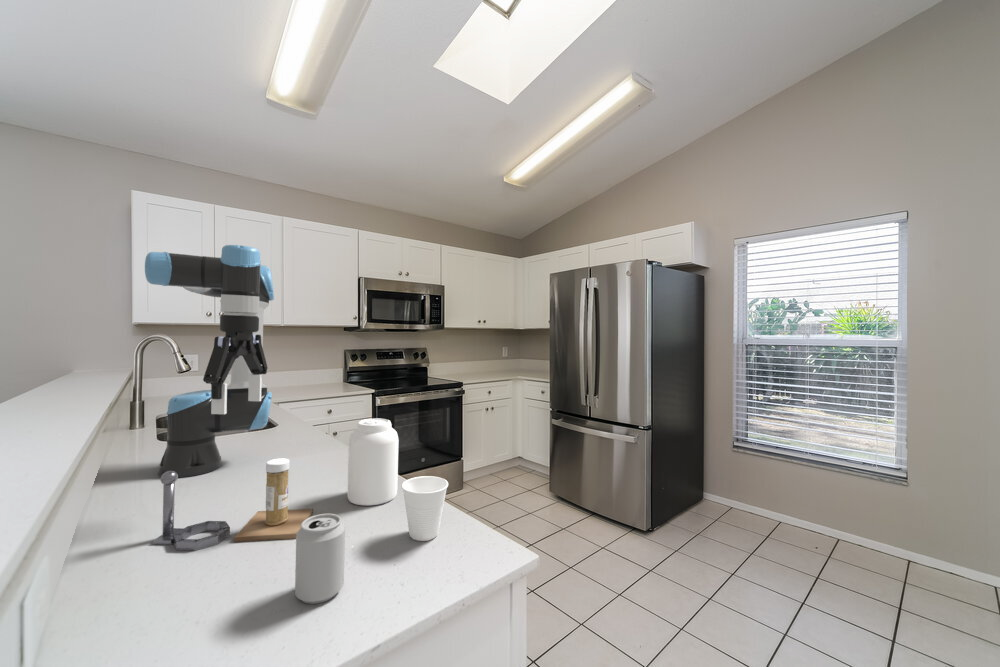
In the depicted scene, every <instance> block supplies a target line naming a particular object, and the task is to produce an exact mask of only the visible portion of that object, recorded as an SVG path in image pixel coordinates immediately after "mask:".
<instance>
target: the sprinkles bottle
mask: <svg viewBox="0 0 1000 667" xmlns="http://www.w3.org/2000/svg"><path fill="white" fill-rule="evenodd" d="M289 470H290V459H288V458H282V457H281V458H274V459H270V460H268V461H266V463H265V472H266V485H265V511H266V520H265V523H266V524H267V525H270V526H274V525H280V524H282V523H284V522H286V521H287V520H288V510H289V506H288V505H289Z"/></svg>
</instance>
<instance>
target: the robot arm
mask: <svg viewBox="0 0 1000 667" xmlns="http://www.w3.org/2000/svg"><path fill="white" fill-rule="evenodd" d="M220 255H221V256H220V257H215V256H205V255H203V256H202V255H194V254H193V255H191V254H182V253H173V252H172V253H171V252H167V251H163V252H161V251H160V252H159V251H151V252H148V253H147V254H146V256H145V259H144V274H145V275H144V276H145V279H146V281H147V282H148V283H149V284H150V285H157V286H162V287H180V288H183V289H184V290H187V291H188V292H189V293H195V294H198V295H203V296H207V297H213V298H220V300H219V302H220V312H221V313H223V314H221V315H220V316H219V330H220V332H223V333H224V332H225V335H224V336H215V337H214V342H213V349H212V352H211V355H210V357H209V361H208V363H207V365H206V368H205V372H204V375H203V379H202V381H203V382H204V383H205V384H207V385H208V384H210V385H211V387H210V388H211V389H203V390H196V391H190V392H185V393H181V394H177V395H174V396H173V397H171V398H170V399H169V401H168V403H167V412H166V415H167V420H166V421H167V422H166V424H167V429H166V430H167V431H166V433H167V434H166V448H165V450H164V453H163V455H162V456H161V460H160V463H159V464H158V475H159V476H160V477H161V476H162V475H163V474H164V473H165V472H167V471H175V472H176V473H177V474H178V478H187V477H194V476H199V475H203V474H208V473H209V472H213V471H214V470H217V469H219V468H221V466H222V455H221V454H220V451H219V448H218V446H217V443H216V434H217V433H229V432H240V431H241V432H242V431H252V430H260V429H263V428H265V427H266V426H267V424H268V420H269V416H270V409H271V404H272V397H273V393H272V392H271V391H268V386H267V385H266V384H265V383H263V375H267V373H268V372H267V371H268V364H267V360H266V357H265V352H264V349H263V348H264V310H266V308H268V307H269V306H270V302H271V301H273V300H274V299H275V293H274V286H273V285H274V284H273V277H272V272H271V269H270V267H269V266H267V265H262V264H261V263H262V260H261V252H260V250H259V249H258V248H255V247H253V246H247V245H239V244H225V245H224V246H222V247H221V254H220ZM229 373H230V383H229V384H228V383H226V382H225V381H226V379H227V377H228V375H229Z"/></svg>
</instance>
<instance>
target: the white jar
mask: <svg viewBox="0 0 1000 667" xmlns="http://www.w3.org/2000/svg"><path fill="white" fill-rule="evenodd" d="M392 425H393V424H392V422H391V420H389V419H386V418H381V417H380V418H377V417H375V418H374V417H373V418H365V419H362V420H360V421H358V422H357V425H356V429H355V430H353V432H351V433H350V437H349V438H348V458H347V459H348V462H347V469H348V470H347V499H348V501H349V503H352V504H354V505H358V506H367V507H368V506H378V505H382V504H386V503H388V502H390V501H392V500H393V499H394V498H396V497H397V494H398V478H399V476H398V475H399V442H400V441H399V439H400V438H399V435H398V432H397V431H396V429H395V428H393V427H392Z"/></svg>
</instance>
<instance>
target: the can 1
mask: <svg viewBox="0 0 1000 667" xmlns="http://www.w3.org/2000/svg"><path fill="white" fill-rule="evenodd" d="M342 521H343V520H342V517H341V516H339V515H338V514H335V513H321V514H315V515H311V517H309V518H307V519H306V520H304V521H303V522H302V524H301V528H300V529H299V531H298V532H297V534H296V538H295V569H294V573H295V577H294V579H295V580H294V581H295V582H294V593H295V596H296V598H298V600H301V601H302V602H303V603H306V604H309V605H310V604H311V605H312V604H321V603H325V602H327V601H329V600H331V599H332V598H334V597H335V596H336V595H337V594H338V593H339V592H340V591H341V590H342V589H343V587H344V583H345V558H346V557H345V553H346V549H345V548H346V526H345V524H344V523H343V522H342Z"/></svg>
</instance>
